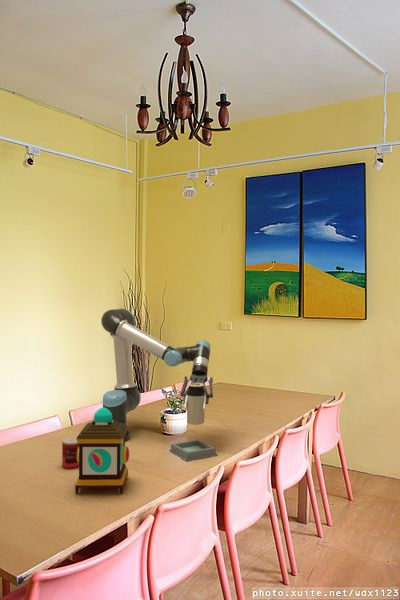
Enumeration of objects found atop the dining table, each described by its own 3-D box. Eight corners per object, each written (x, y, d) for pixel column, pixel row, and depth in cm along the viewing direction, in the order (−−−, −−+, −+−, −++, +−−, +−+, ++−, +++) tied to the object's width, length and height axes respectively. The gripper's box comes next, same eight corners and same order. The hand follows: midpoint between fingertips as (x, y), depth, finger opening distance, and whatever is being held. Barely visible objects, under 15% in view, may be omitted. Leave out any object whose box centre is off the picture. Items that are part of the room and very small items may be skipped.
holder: (186, 461, 221) (186, 453, 220) (169, 451, 234) (169, 443, 234) (217, 455, 229) (217, 448, 229) (199, 446, 242) (199, 439, 242)
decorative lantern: (131, 476, 203) (132, 401, 202) (126, 496, 183) (126, 414, 183) (81, 476, 202) (81, 401, 202) (70, 496, 182) (70, 414, 182)
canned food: (73, 461, 219) (73, 436, 219) (84, 465, 214) (85, 440, 214) (58, 466, 213) (58, 440, 213) (69, 470, 208) (69, 444, 208)
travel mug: (189, 425, 230) (190, 386, 229) (185, 421, 237) (185, 383, 237) (206, 424, 232) (206, 385, 232) (201, 419, 240) (201, 382, 239)
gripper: (221, 373, 248) (217, 414, 232) (180, 372, 251) (173, 412, 235) (220, 364, 242) (216, 405, 227) (178, 363, 245) (171, 403, 230)
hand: (194, 409), depth 231 cm, fingers closed on travel mug, 8 cm apart
